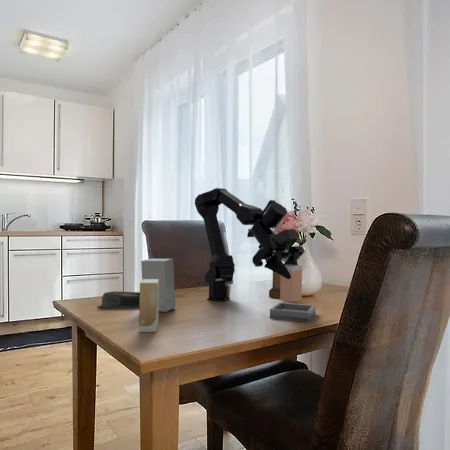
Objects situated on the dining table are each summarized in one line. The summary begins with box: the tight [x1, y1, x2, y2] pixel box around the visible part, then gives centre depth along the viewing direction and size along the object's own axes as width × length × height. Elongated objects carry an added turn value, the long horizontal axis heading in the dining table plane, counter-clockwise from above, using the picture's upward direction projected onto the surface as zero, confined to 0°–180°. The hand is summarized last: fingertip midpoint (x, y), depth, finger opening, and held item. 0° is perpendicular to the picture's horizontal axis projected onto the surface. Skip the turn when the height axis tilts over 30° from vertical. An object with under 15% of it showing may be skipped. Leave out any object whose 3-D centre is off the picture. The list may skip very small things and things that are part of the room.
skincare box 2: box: [138, 279, 160, 333], centre depth 97 cm, size 6×4×12 cm
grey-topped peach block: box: [279, 264, 303, 303], centre depth 112 cm, size 4×4×10 cm
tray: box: [269, 301, 316, 323], centre depth 113 cm, size 11×11×2 cm
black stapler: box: [97, 290, 140, 308], centre depth 123 cm, size 5×3×15 cm
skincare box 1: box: [140, 258, 176, 313], centre depth 119 cm, size 8×7×16 cm
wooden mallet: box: [268, 271, 280, 299], centre depth 144 cm, size 7×6×18 cm
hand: (294, 277), depth 111 cm, fingers closed on grey-topped peach block, 4 cm apart
